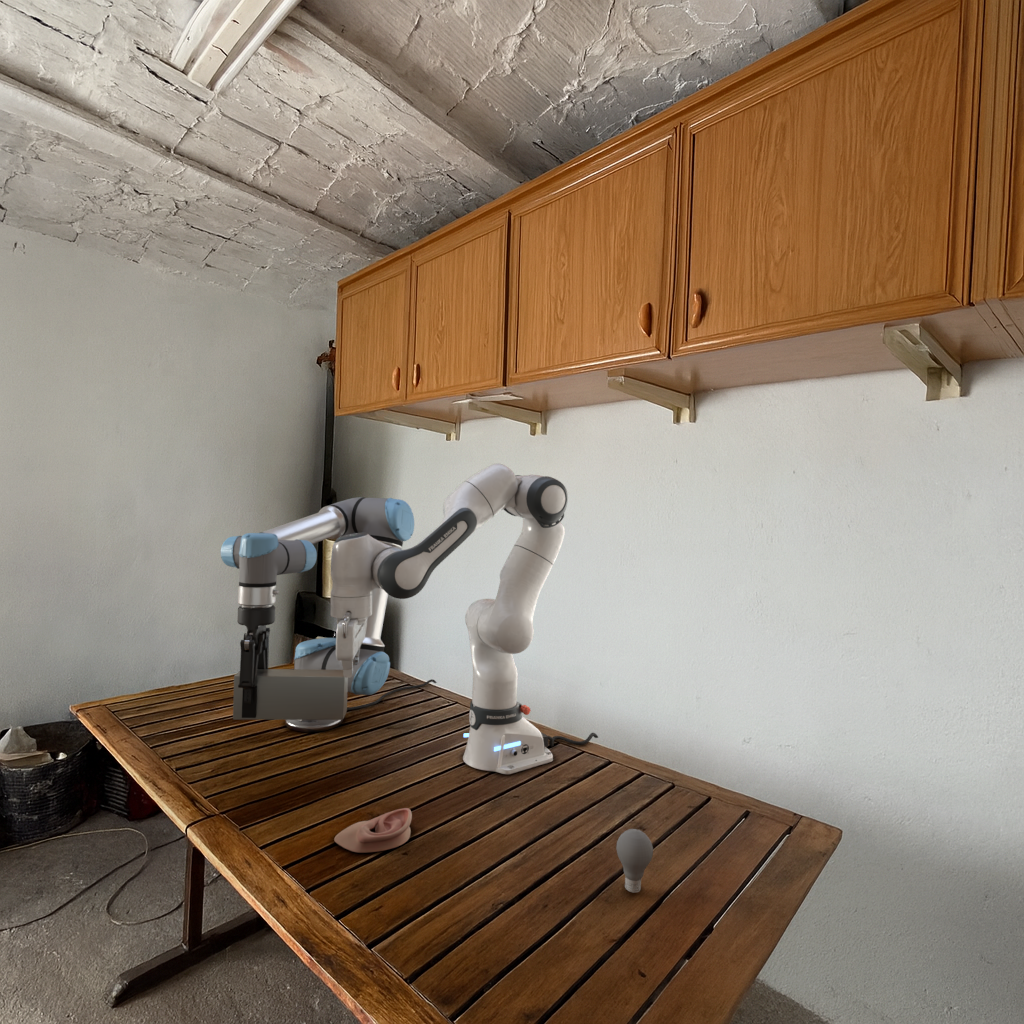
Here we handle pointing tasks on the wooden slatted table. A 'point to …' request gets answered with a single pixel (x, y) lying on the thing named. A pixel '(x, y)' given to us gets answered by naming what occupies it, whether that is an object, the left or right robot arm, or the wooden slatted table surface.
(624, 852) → the light bulb
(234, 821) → the wooden slatted table surface
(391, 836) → the anatomical model
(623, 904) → the wooden slatted table surface
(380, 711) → the wooden slatted table surface
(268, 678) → the bar
